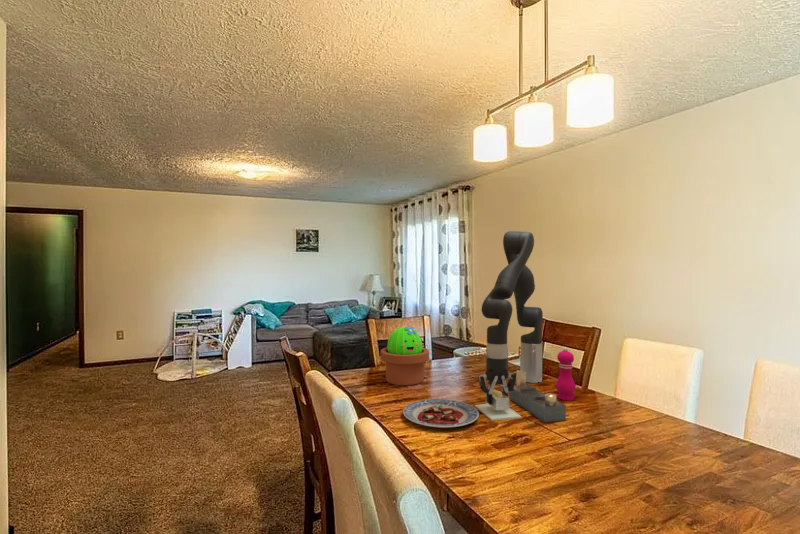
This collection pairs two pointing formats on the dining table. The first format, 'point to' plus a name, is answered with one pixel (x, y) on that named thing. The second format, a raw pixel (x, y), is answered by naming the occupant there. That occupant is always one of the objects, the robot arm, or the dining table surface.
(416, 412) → the ceramic plate
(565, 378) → the pepper mill
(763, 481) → the dining table surface
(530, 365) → the robot arm
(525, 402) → the hand plane
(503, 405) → the white rectangular block
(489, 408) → the rubber mat
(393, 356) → the potted cactus
